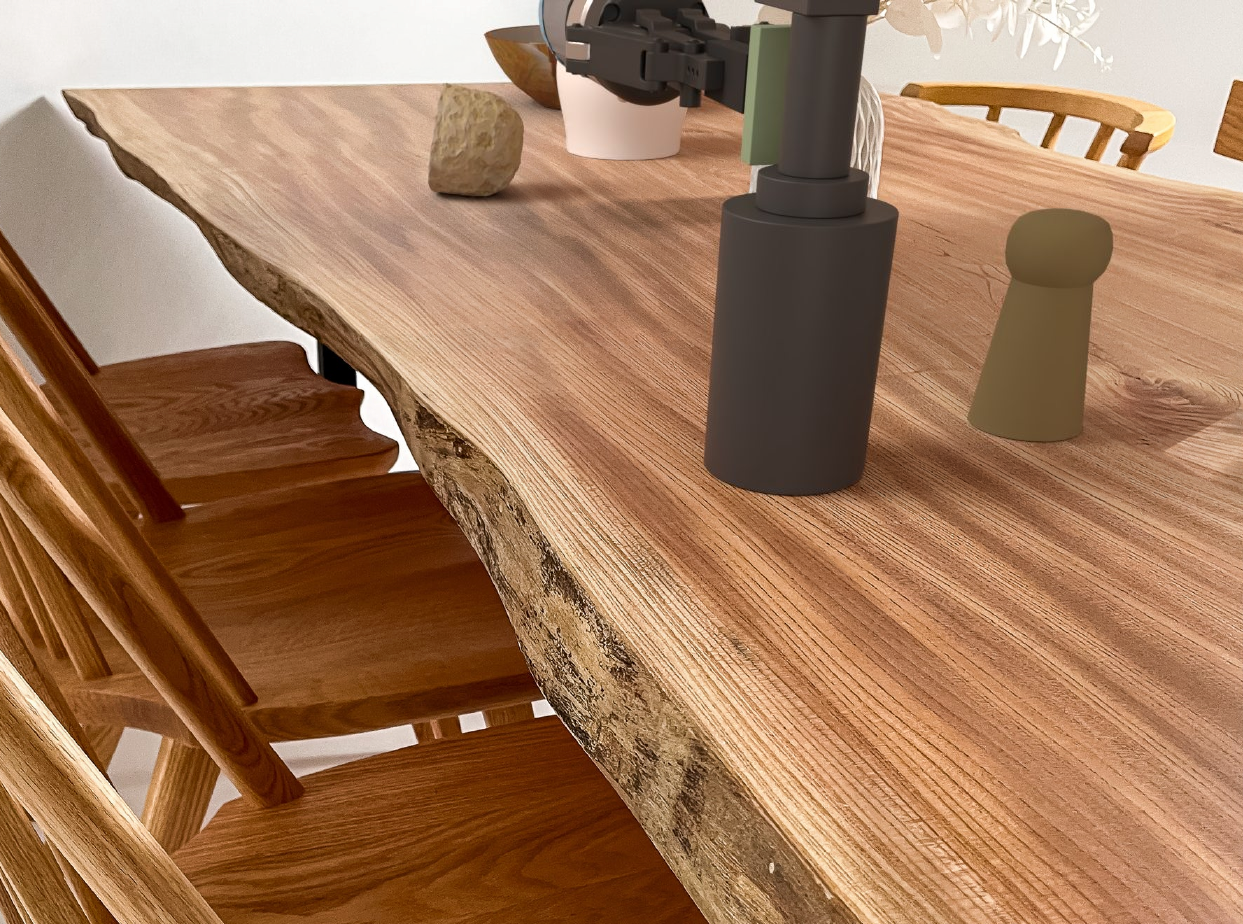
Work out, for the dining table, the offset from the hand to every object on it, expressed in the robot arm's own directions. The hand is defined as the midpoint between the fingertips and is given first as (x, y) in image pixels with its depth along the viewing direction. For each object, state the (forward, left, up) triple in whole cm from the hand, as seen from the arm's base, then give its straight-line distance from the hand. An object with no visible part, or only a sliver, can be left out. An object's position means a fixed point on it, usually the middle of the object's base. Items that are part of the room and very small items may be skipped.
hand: (758, 84), depth 69 cm
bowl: (+35, -110, -17) cm, 117 cm away
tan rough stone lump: (+31, -52, -17) cm, 63 cm away
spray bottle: (-3, +7, -17) cm, 18 cm away
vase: (+23, -79, -17) cm, 84 cm away
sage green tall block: (-1, +3, -3) cm, 4 cm away
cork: (-16, -2, -17) cm, 23 cm away
